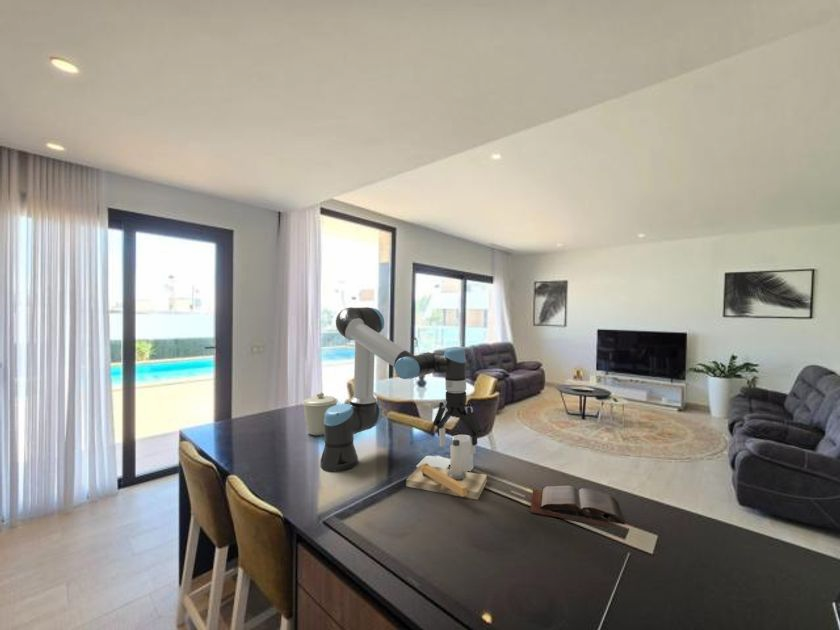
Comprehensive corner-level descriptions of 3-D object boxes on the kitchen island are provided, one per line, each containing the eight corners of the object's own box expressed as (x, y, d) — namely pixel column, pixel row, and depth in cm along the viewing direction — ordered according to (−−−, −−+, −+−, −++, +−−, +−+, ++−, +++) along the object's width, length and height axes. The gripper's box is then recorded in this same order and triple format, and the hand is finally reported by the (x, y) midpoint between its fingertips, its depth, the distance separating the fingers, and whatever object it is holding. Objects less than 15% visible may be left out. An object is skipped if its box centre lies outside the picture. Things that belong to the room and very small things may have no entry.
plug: (445, 485, 133) (444, 442, 133) (450, 477, 139) (450, 436, 139) (462, 488, 130) (462, 444, 130) (467, 480, 136) (467, 438, 136)
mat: (416, 467, 148) (415, 466, 148) (426, 456, 159) (426, 455, 159) (444, 472, 144) (444, 470, 144) (453, 460, 155) (453, 459, 155)
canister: (333, 438, 184) (333, 396, 184) (297, 438, 184) (297, 396, 184) (341, 427, 202) (341, 388, 202) (308, 427, 202) (308, 388, 202)
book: (632, 534, 104) (633, 518, 104) (529, 514, 114) (529, 499, 114) (621, 504, 123) (621, 491, 123) (533, 489, 132) (533, 476, 133)
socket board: (406, 486, 132) (406, 475, 132) (421, 470, 145) (420, 461, 145) (477, 499, 122) (477, 488, 122) (486, 481, 135) (486, 471, 135)
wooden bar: (419, 471, 136) (419, 464, 136) (425, 469, 137) (425, 462, 137) (461, 497, 116) (461, 488, 116) (467, 494, 118) (467, 486, 118)
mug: (461, 477, 139) (460, 445, 139) (443, 471, 145) (442, 440, 145) (477, 467, 148) (477, 437, 148) (460, 461, 154) (459, 432, 154)
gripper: (423, 388, 140) (424, 444, 140) (479, 397, 123) (480, 461, 123) (436, 385, 145) (437, 439, 145) (491, 393, 129) (492, 454, 129)
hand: (457, 449), depth 134 cm, fingers open, 13 cm apart
